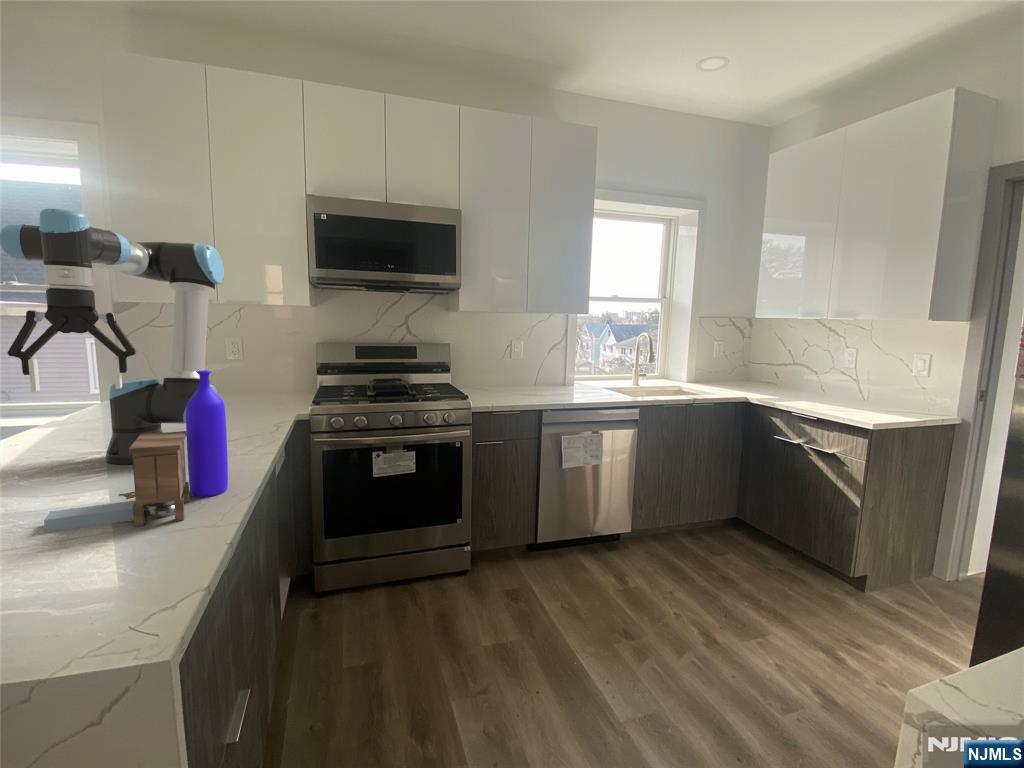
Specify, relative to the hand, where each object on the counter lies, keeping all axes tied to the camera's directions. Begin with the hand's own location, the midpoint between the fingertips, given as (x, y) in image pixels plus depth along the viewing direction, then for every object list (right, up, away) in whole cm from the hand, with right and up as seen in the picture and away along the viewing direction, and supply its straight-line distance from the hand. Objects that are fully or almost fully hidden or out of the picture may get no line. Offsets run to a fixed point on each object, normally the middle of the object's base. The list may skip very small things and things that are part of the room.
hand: (78, 389), depth 105 cm
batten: (+6, -28, -2) cm, 28 cm away
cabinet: (+16, -27, +3) cm, 32 cm away
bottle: (+18, -26, +17) cm, 35 cm away
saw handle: (+8, -25, +19) cm, 33 cm away
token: (+16, -27, +3) cm, 32 cm away
